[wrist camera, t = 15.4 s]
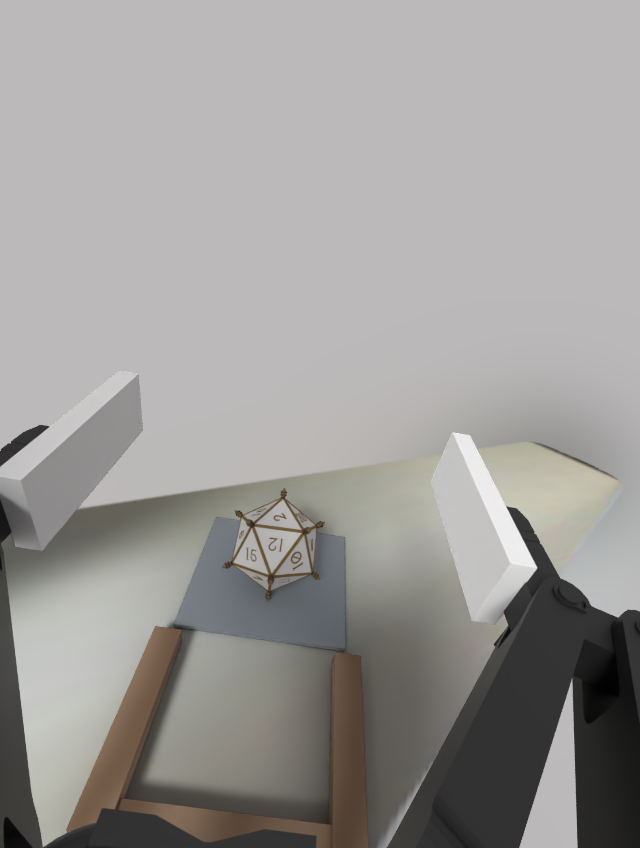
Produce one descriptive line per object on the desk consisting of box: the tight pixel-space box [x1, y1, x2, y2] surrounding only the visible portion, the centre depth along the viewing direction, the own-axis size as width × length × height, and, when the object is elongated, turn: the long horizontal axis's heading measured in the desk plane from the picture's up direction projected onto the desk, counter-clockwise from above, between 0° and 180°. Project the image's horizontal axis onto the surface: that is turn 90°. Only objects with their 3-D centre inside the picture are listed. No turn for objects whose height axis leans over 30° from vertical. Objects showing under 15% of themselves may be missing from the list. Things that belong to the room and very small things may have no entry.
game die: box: [222, 488, 325, 602], centre depth 34 cm, size 9×8×10 cm
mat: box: [174, 517, 345, 651], centre depth 36 cm, size 14×12×1 cm
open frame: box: [66, 626, 368, 848], centre depth 25 cm, size 16×11×2 cm
